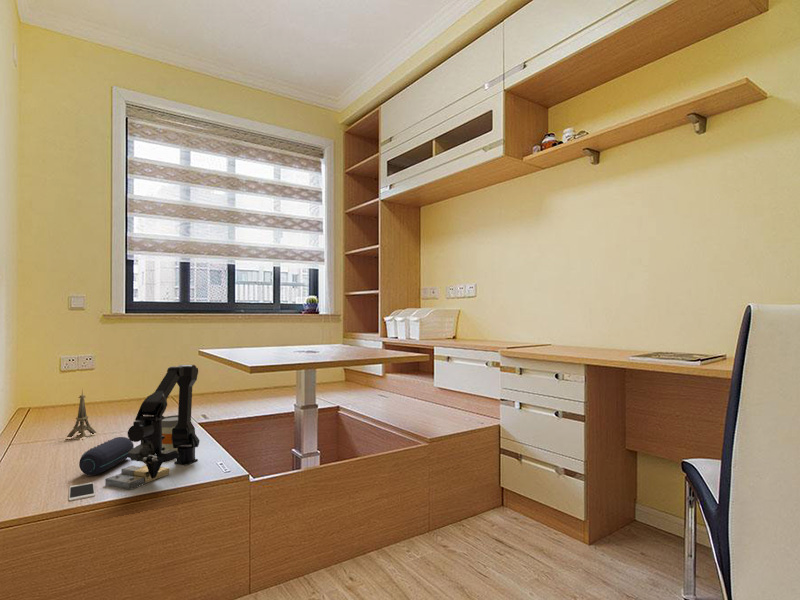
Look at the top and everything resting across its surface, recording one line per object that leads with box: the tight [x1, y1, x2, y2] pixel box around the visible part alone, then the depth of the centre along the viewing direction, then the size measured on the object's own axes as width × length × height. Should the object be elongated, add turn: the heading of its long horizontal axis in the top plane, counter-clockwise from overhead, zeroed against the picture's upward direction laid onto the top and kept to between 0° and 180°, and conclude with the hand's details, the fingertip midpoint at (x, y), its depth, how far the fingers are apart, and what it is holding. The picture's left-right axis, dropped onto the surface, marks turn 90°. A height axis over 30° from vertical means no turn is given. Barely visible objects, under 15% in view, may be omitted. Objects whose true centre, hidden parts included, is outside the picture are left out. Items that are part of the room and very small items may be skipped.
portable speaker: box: [78, 436, 135, 477], centre depth 185 cm, size 25×10×10 cm, turn 2°
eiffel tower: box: [66, 389, 98, 438], centre depth 235 cm, size 11×11×25 cm
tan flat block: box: [134, 464, 170, 484], centre depth 173 cm, size 10×12×4 cm
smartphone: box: [68, 482, 96, 502], centre depth 159 cm, size 7×16×1 cm, turn 35°
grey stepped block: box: [104, 465, 145, 491], centre depth 167 cm, size 10×12×4 cm
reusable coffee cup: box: [162, 414, 178, 452], centre depth 205 cm, size 13×13×15 cm
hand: (153, 478), depth 168 cm, fingers closed
